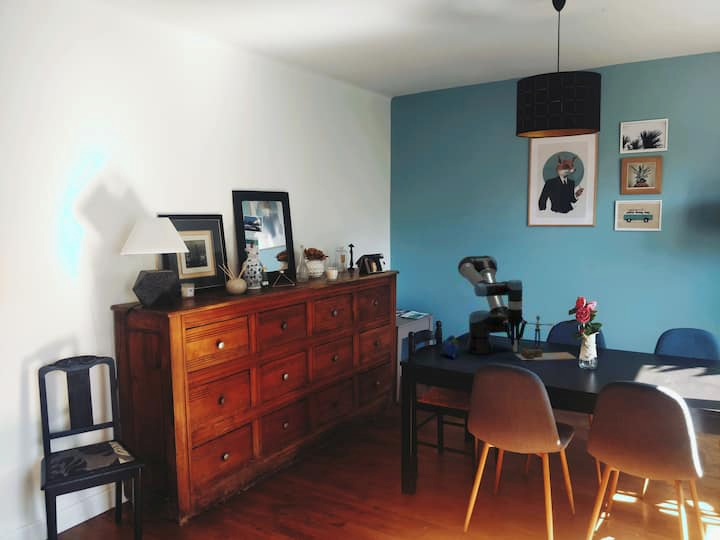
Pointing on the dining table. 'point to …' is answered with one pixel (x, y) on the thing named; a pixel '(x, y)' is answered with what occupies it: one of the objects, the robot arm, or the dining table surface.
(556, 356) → the mat
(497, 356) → the dining table surface
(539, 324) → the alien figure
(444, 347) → the toy
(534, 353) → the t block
